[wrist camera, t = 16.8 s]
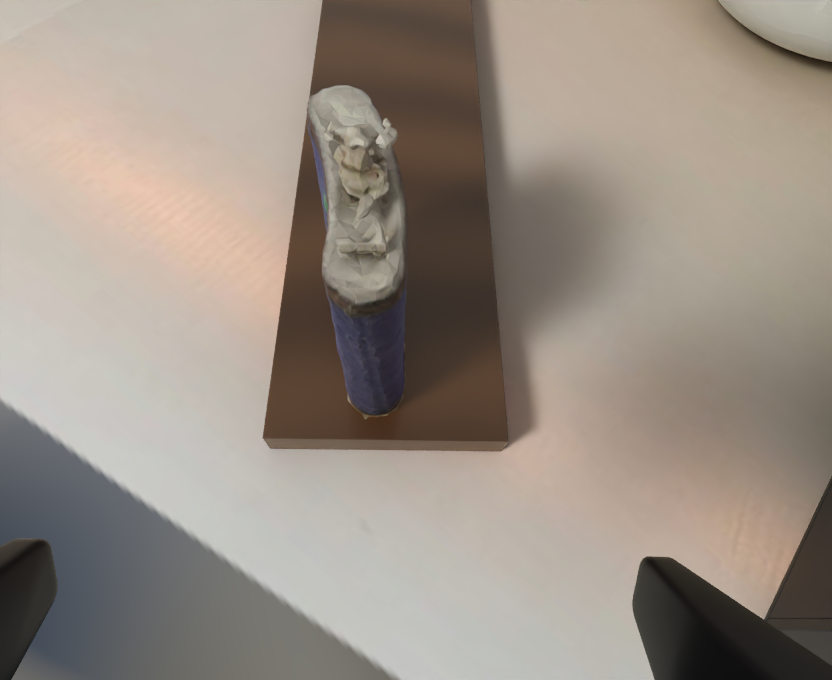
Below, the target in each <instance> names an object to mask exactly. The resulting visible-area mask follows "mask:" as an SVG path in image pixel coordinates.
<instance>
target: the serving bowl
mask: <svg viewBox="0 0 832 680" xmlns="http://www.w3.org/2000/svg"><path fill="white" fill-rule="evenodd" d="M718 1H719V2H720V4H721V5H722V6H723V7H724V8H725V9H726V10H727V11H728V12H729V13H730V14H731V15H732V16H733V17H734V18H735V19H736V20H738V21H739V22H740V23H741V24H742V25H744V26H745V27H747V28H748V29H749V30H751V31H752V32H754V33H756V34H757V35H759V36H761V37H762V38H764V39H766V40H768V41H770V42H772V43H774V44H776V45H778V46H780V47H783V48H785V49H787V50H790V51H793V52H796V53H799V54H802V55H805V56H808V57H812V58H816V59H820V60H824V61H829V62H832V0H718Z"/></svg>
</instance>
